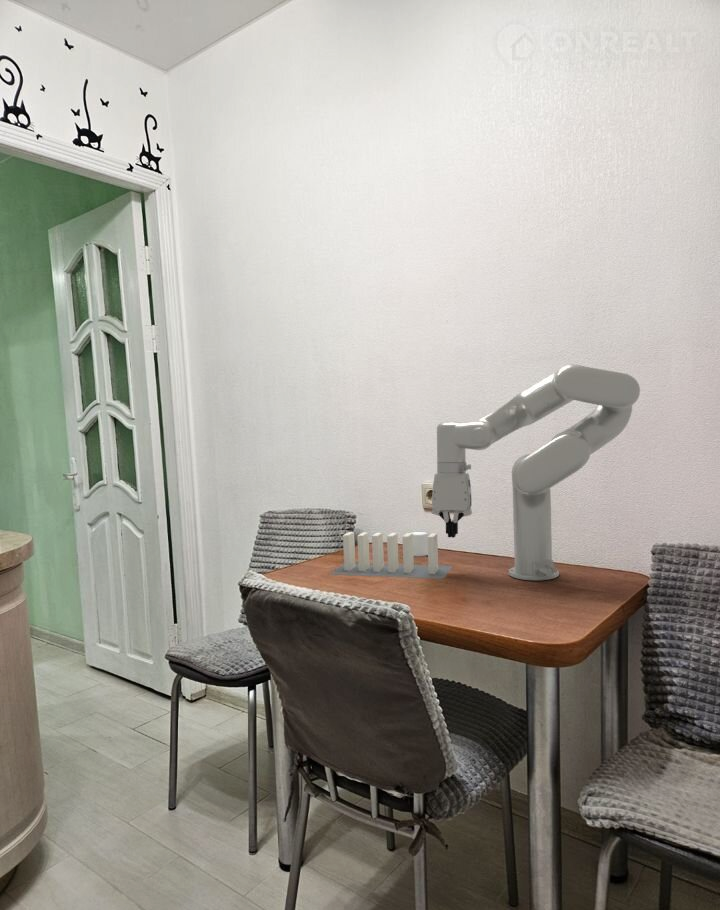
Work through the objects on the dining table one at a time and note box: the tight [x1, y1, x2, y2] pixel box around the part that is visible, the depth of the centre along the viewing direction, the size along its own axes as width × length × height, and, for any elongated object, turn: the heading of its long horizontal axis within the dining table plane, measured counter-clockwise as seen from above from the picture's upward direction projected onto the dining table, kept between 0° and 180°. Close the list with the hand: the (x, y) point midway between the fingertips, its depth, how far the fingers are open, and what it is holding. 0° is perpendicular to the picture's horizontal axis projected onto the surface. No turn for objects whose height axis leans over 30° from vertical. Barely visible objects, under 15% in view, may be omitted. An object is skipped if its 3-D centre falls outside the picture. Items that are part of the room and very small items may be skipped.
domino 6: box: [427, 533, 439, 574], centre depth 176 cm, size 2×5×10 cm, turn 162°
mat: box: [328, 562, 454, 580], centre depth 180 cm, size 32×14×1 cm, turn 71°
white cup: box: [408, 530, 430, 557], centre depth 199 cm, size 7×7×7 cm
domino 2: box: [356, 531, 371, 571], centre depth 182 cm, size 2×5×10 cm, turn 162°
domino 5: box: [402, 532, 415, 573], centre depth 178 cm, size 2×5×10 cm, turn 162°
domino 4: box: [386, 532, 400, 572], centre depth 180 cm, size 2×5×10 cm, turn 161°
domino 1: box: [342, 531, 357, 571], centre depth 184 cm, size 2×5×10 cm, turn 161°
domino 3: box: [371, 532, 385, 572], centre depth 181 cm, size 2×5×10 cm, turn 161°
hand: (451, 536), depth 174 cm, fingers closed
